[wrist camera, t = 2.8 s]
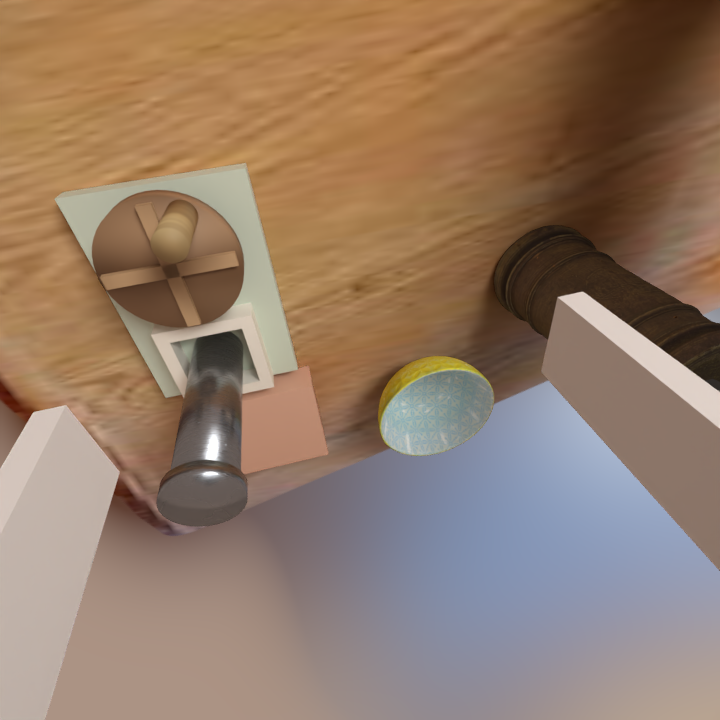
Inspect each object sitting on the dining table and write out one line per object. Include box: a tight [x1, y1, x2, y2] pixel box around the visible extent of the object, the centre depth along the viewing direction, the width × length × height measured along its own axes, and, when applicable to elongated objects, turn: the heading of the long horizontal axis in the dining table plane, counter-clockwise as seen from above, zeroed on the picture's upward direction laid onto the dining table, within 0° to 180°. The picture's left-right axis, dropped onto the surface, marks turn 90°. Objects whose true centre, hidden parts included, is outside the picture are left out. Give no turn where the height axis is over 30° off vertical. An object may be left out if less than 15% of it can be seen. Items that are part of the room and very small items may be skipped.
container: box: [494, 226, 720, 382], centre depth 32 cm, size 9×9×18 cm
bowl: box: [378, 356, 494, 456], centre depth 41 cm, size 11×12×6 cm
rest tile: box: [241, 366, 328, 474], centre depth 41 cm, size 10×10×3 cm
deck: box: [55, 163, 298, 398], centre depth 31 cm, size 18×12×4 cm
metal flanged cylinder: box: [157, 331, 247, 526], centre depth 29 cm, size 5×5×15 cm
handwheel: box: [92, 190, 244, 327], centre depth 25 cm, size 9×9×6 cm
